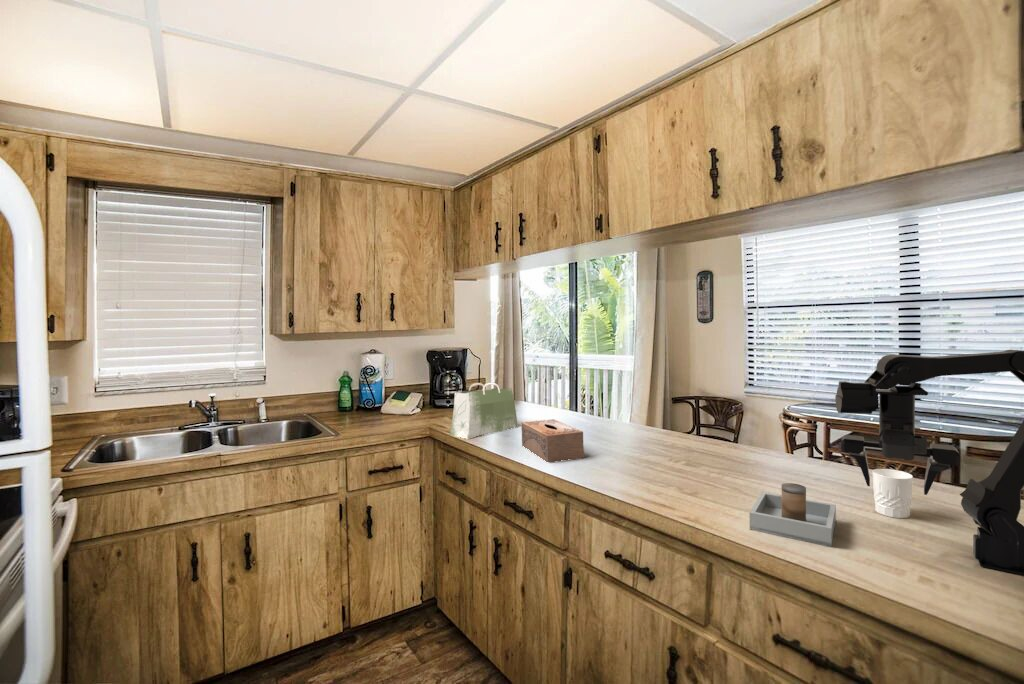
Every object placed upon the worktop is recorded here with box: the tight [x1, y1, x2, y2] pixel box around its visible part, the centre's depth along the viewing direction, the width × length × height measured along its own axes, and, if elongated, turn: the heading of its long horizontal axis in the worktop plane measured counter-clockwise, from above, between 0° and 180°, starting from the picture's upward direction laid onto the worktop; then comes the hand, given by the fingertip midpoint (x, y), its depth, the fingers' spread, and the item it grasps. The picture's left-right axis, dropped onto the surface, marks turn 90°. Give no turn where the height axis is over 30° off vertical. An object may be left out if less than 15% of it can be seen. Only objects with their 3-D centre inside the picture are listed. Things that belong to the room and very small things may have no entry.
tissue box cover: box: [520, 418, 585, 463], centre depth 184 cm, size 26×14×10 cm, turn 20°
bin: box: [748, 491, 837, 548], centre depth 113 cm, size 16×16×4 cm
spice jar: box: [781, 482, 807, 522], centre depth 113 cm, size 5×5×8 cm
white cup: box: [872, 468, 914, 519], centre depth 118 cm, size 8×8×10 cm
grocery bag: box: [449, 382, 519, 440], centre depth 223 cm, size 32×14×23 cm, turn 135°
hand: (896, 489), depth 99 cm, fingers open, 9 cm apart
